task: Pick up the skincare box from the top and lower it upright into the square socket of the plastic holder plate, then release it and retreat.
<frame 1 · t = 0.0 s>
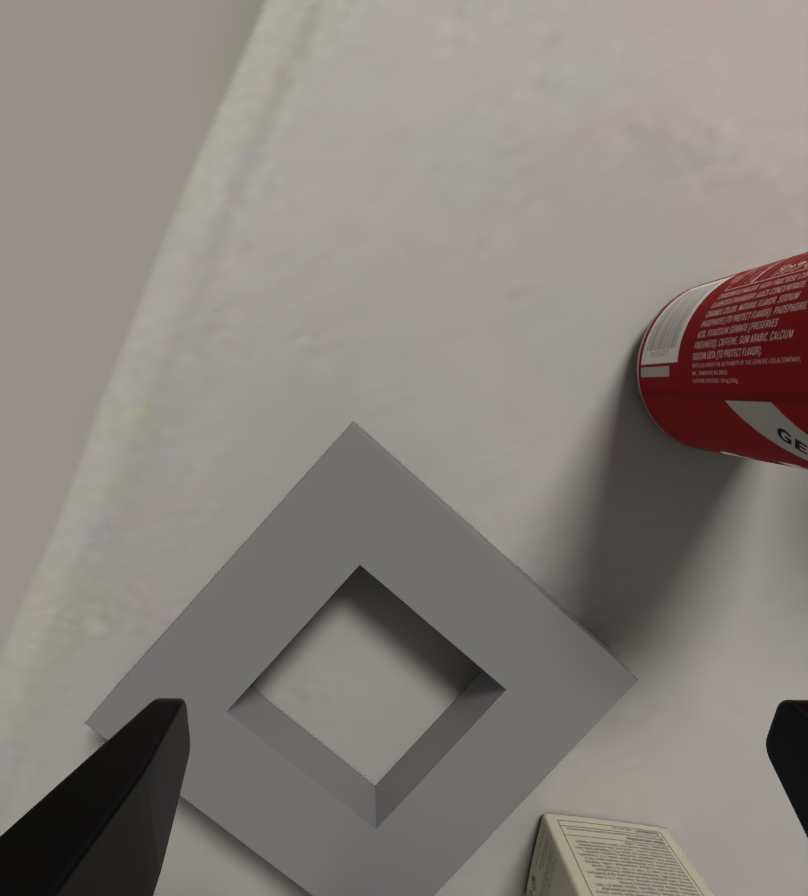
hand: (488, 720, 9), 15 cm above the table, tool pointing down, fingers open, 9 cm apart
socket holder: (368, 669, 25), on the table
skincare box: (596, 855, 26), on the table
soda can: (704, 368, 24), on the table
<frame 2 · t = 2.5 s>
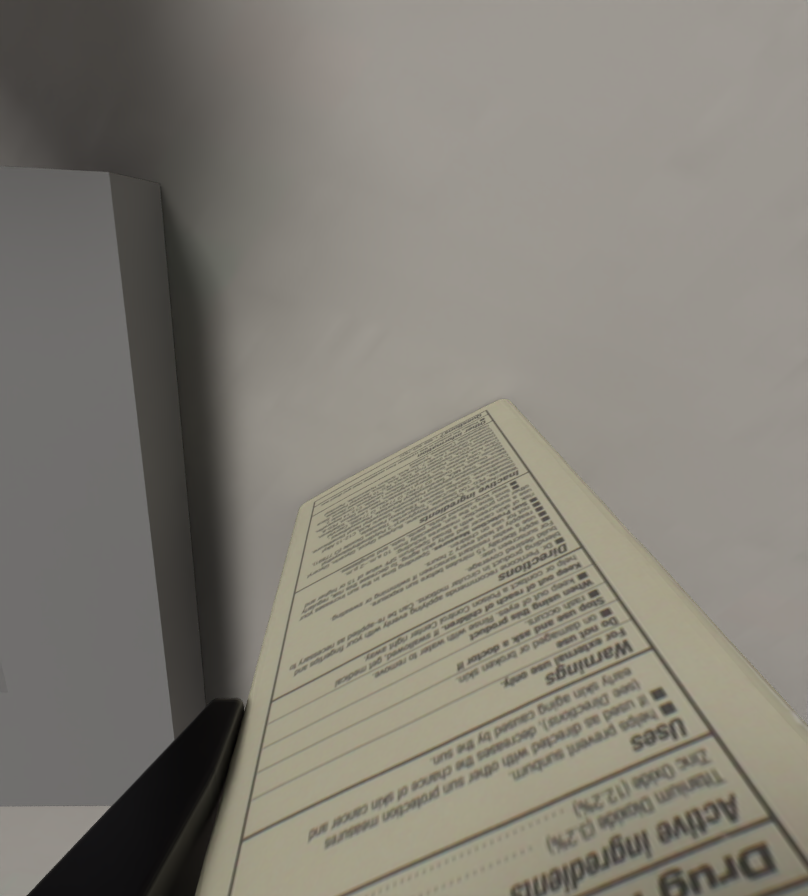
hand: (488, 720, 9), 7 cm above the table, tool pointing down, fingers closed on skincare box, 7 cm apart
skincare box: (438, 506, 15), on the table, touching gripper
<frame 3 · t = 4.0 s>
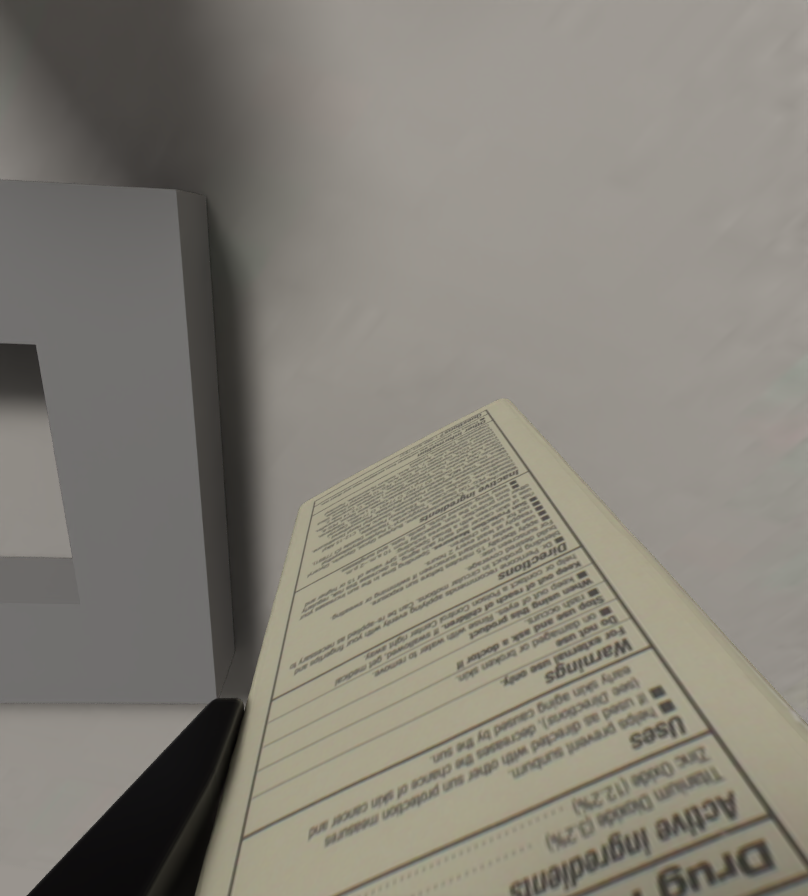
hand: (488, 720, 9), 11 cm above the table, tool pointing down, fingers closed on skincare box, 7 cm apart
skincare box: (438, 505, 15), point 3 cm above the table, touching gripper
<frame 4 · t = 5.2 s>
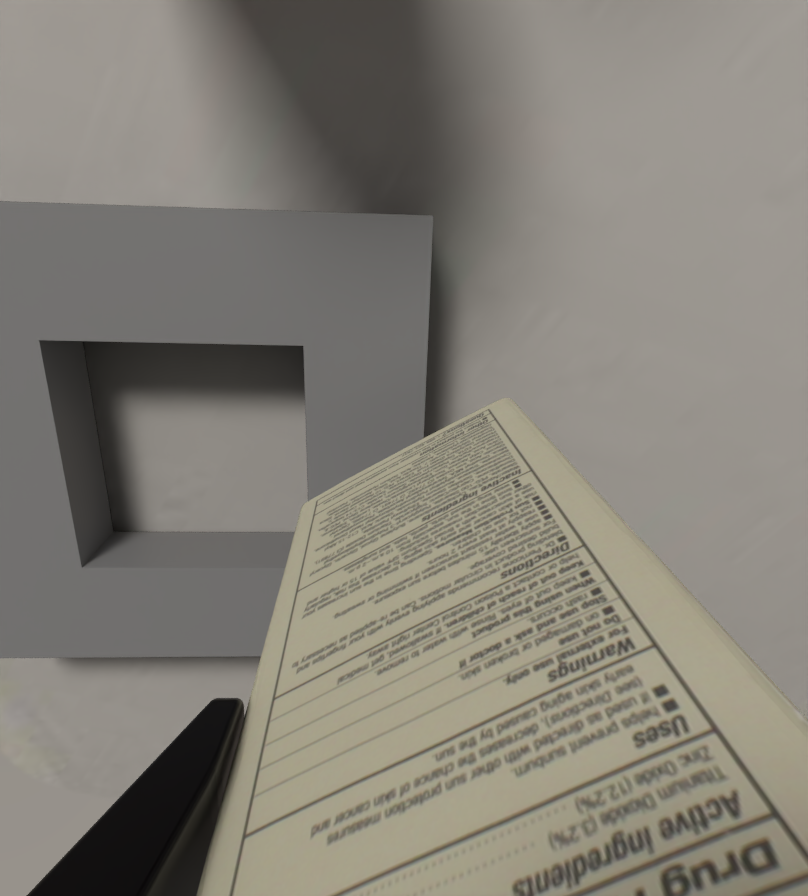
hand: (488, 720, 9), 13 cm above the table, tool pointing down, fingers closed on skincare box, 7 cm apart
socket holder: (207, 437, 21), on the table
skincare box: (441, 505, 15), point 6 cm above the table, touching gripper
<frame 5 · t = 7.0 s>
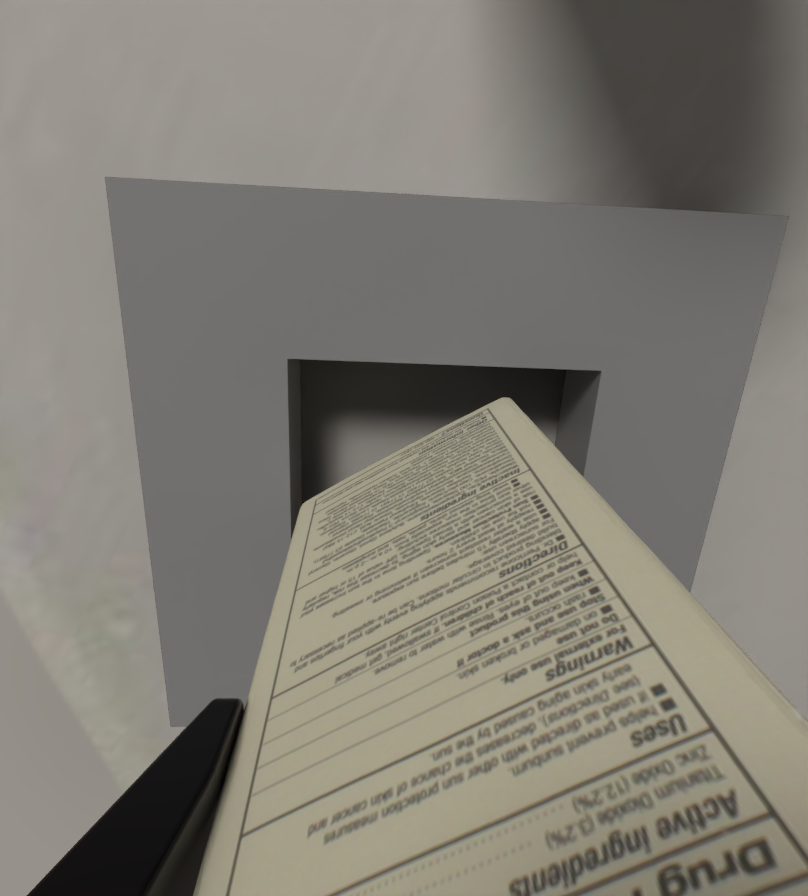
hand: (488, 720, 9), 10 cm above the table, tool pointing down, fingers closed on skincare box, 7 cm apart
socket holder: (427, 470, 18), on the table
skincare box: (440, 504, 15), point 2 cm above the table, touching gripper
when the fingers open (8 cm above the table, at t = 8.3 s): skincare box stays where it is, resting in socket holder.
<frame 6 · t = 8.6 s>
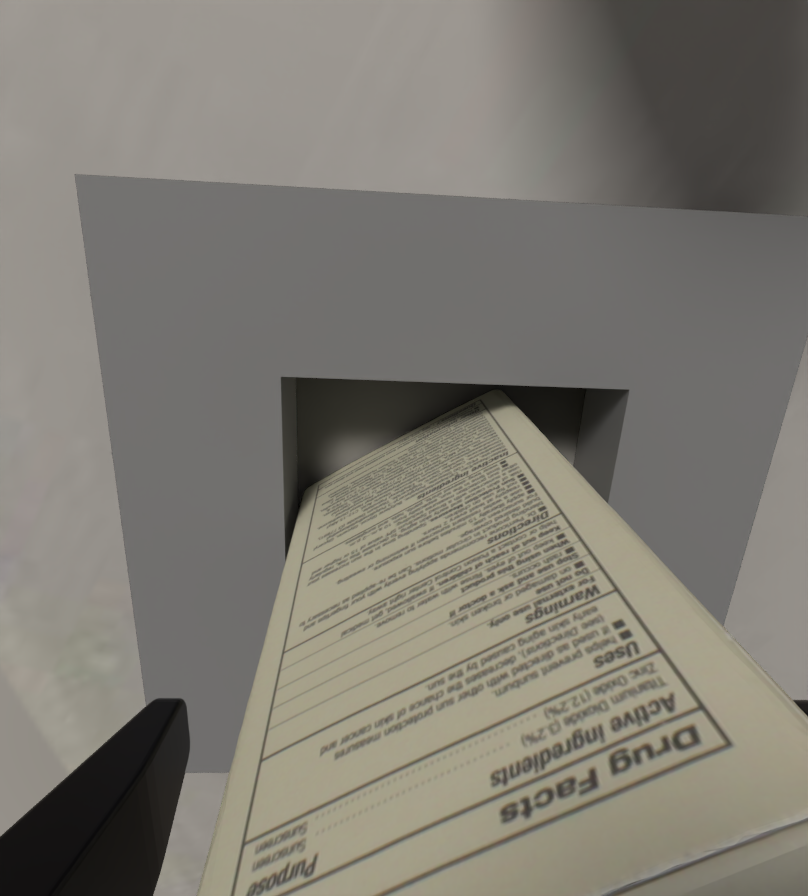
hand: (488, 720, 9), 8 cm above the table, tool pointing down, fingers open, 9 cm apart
socket holder: (435, 494, 16), on the table
skincare box: (435, 490, 16), resting in socket holder
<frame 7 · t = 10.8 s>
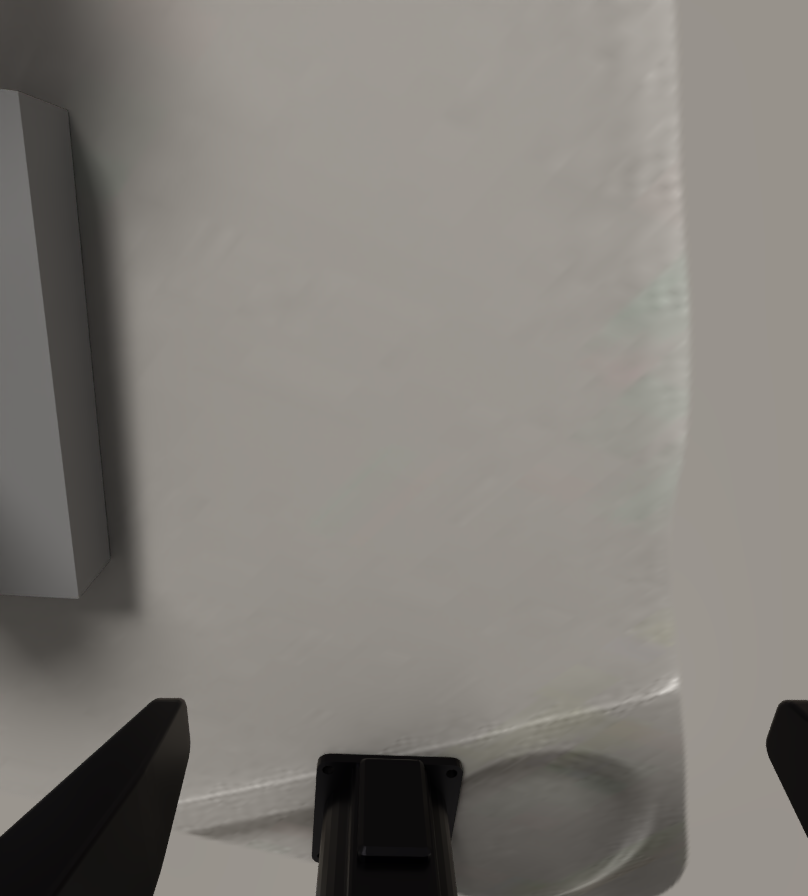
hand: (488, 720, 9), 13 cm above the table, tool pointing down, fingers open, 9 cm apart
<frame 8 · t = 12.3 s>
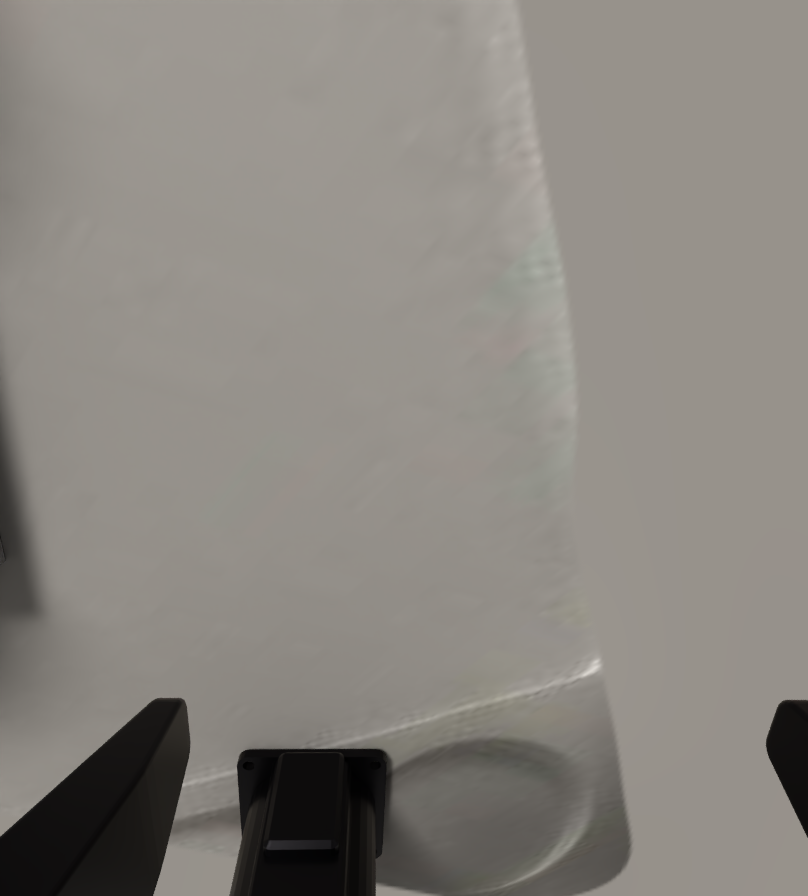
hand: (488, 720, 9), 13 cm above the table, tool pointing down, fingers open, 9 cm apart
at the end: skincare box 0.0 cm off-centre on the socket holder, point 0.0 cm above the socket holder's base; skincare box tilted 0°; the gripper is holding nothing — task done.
